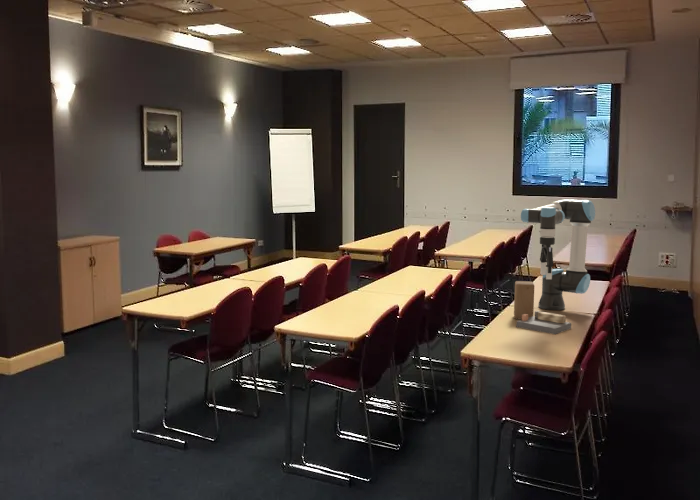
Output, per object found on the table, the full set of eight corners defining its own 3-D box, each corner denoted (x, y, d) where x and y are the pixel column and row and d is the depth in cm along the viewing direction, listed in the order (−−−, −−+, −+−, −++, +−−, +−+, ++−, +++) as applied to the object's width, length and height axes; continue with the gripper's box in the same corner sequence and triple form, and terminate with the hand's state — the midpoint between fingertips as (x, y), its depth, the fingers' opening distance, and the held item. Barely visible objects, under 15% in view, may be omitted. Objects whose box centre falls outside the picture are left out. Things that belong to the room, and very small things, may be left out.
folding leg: (533, 318, 352) (533, 311, 352) (536, 317, 355) (536, 310, 354) (562, 323, 341) (562, 316, 340) (565, 322, 343) (565, 315, 343)
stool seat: (532, 321, 359) (533, 310, 359) (570, 328, 344) (571, 317, 343) (516, 326, 347) (516, 315, 346) (555, 334, 332) (555, 322, 331)
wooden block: (533, 320, 362) (534, 284, 359) (514, 319, 364) (515, 283, 361) (532, 316, 372) (533, 281, 369) (513, 315, 374) (514, 280, 371)
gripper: (535, 234, 357) (533, 272, 360) (545, 239, 332) (543, 281, 335) (549, 234, 357) (547, 273, 359) (560, 239, 332) (558, 281, 335)
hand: (545, 277), depth 347 cm, fingers open, 13 cm apart
